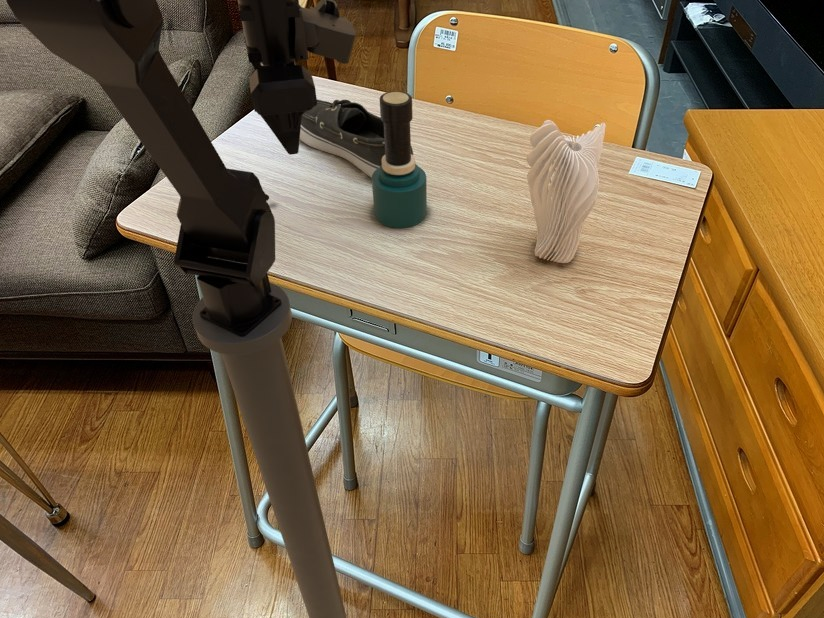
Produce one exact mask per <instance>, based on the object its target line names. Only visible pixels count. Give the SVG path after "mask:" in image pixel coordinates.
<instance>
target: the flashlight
mask: <svg viewBox="0 0 824 618" xmlns="http://www.w3.org/2000/svg"><path fill="white" fill-rule="evenodd" d="M379 111H380V112H379V115H380V118H381V120H382V122H383V123H384V141H385V158H386V162H387V163H389V164H390V165H394V166H402V165H406V164H408V163H409V162H410V161H411V146H412V142H411V141H412V139H411V138H412V137H411V122H412V120H413V97H412V96H411V94H409V93H408V92H405V91H400V90H391V91H386V92H384V93H382V94H381V95H380V97H379Z"/></svg>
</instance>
